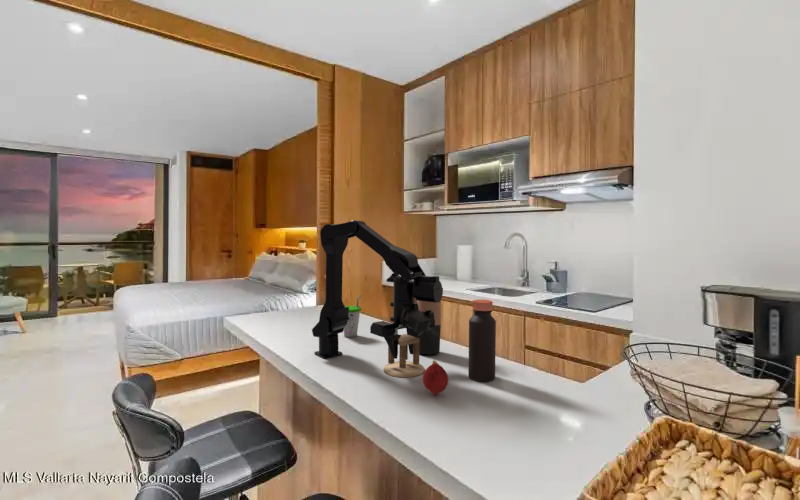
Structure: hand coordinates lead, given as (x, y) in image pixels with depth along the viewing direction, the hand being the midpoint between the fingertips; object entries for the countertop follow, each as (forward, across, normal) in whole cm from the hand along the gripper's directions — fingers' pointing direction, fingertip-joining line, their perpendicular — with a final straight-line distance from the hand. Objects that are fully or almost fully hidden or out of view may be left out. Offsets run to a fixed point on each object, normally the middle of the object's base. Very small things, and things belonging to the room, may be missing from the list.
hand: (403, 356), depth 107 cm
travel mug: (+4, +16, +7) cm, 18 cm away
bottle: (+4, +12, -17) cm, 21 cm away
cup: (+4, +8, +39) cm, 40 cm away
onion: (+4, -5, -17) cm, 18 cm away
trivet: (+4, 0, 0) cm, 4 cm away
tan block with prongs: (+2, 0, 0) cm, 2 cm away
